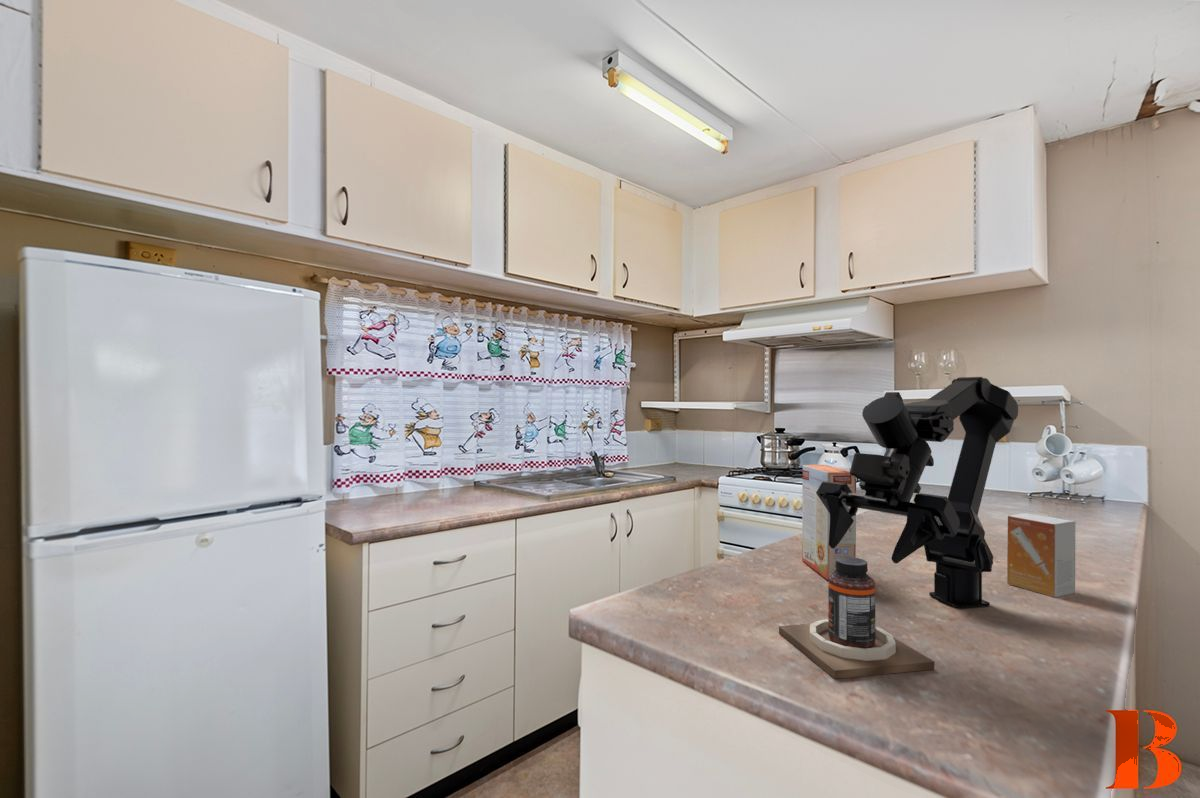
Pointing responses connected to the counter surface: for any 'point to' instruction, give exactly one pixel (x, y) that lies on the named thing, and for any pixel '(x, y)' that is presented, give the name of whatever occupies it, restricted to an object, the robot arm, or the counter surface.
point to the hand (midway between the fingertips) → (860, 553)
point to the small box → (1041, 554)
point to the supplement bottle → (851, 604)
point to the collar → (853, 652)
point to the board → (846, 667)
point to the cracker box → (823, 520)
